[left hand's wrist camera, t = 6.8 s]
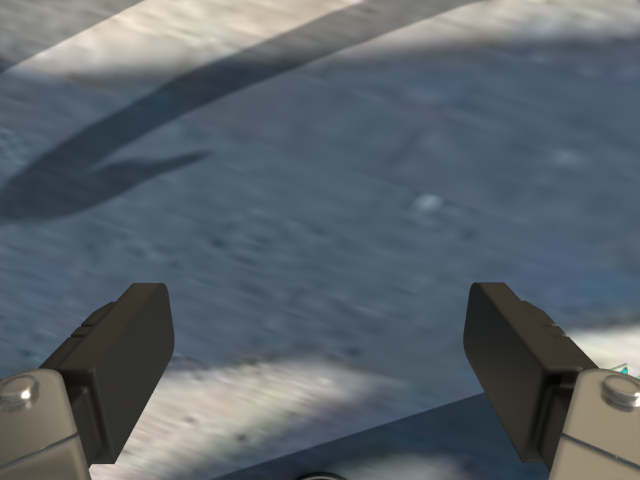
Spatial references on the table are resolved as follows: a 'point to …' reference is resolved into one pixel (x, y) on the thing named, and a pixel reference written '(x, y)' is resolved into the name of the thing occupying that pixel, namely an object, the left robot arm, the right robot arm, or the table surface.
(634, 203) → the table surface
